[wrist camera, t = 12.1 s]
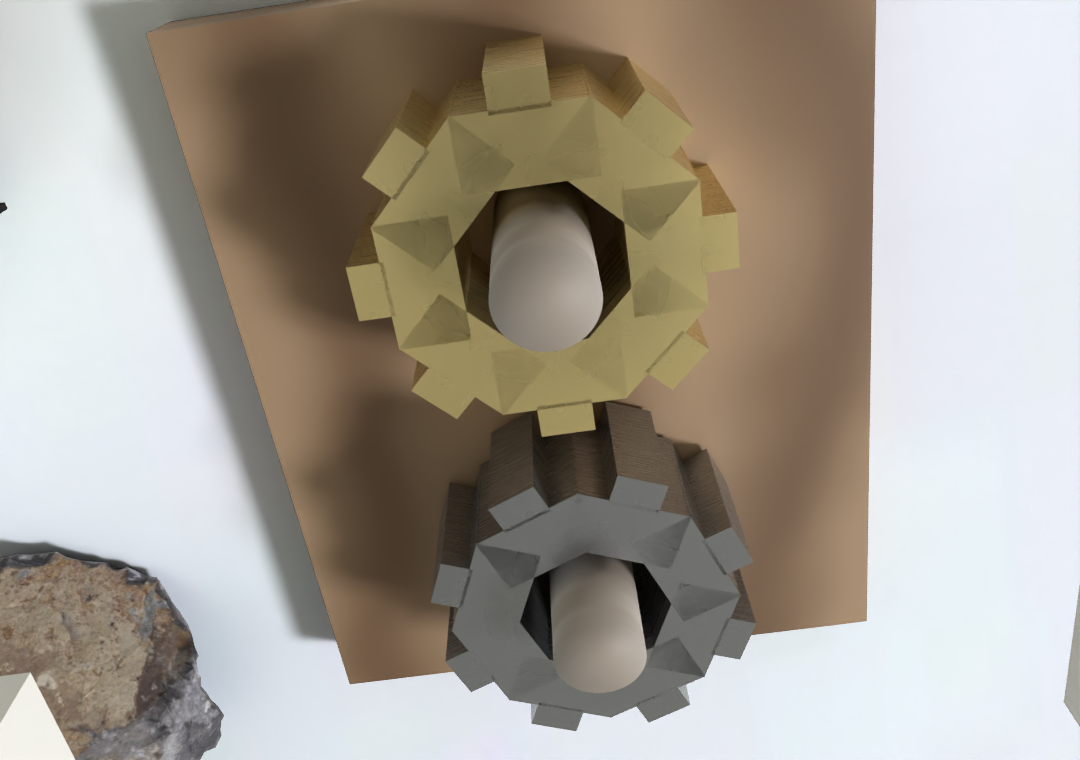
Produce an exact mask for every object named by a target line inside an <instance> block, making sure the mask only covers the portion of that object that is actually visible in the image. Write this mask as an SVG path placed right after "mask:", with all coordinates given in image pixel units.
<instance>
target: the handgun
mask: <svg viewBox="0 0 1080 760" xmlns="http://www.w3.org/2000/svg"><path fill="white" fill-rule="evenodd" d="M6 209H7V207H6V204H5V202H4V203H0V213H2V212H3V211H5V210H6Z"/></svg>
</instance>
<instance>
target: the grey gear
mask: <svg viewBox="0 0 1080 760" xmlns="http://www.w3.org/2000/svg"><path fill="white" fill-rule="evenodd" d="M595 429H596V430H589V431H582V432H574V433H567V434H559V435H552V436H544V437H542V436H541V429H540V423H539V422H538V420H537V419H536V417H535V416H534V414H533V413H532V412H529V413H527V414H525V415H523V416H522V417H520V418H518V419H516V420H514V421H512V422H510V423H508V424H506V425H504V426H503V427H501V428H499V429H497V430H495V431H493V432H491V454H490V460H488V461H486V462H484V463H483V464H481V465H480V470H479V473H478V477H477V481H476V485H475V487H470V486H465V485H460V484H455V483H450V482H449V486H448V490H447V494H446V498H445V502H444V506H443V510H442V513H441V517H440V525H439V534H438V543H437V551H436V560H435V569H434V578H433V587H432V595H431V603H435V604H441V605H446V606H450V614H449V626H448V637H447V649H446V660H445V662H446V663H447V664H448V665H449V667H450V668H451V669H452V670H453V671H454V672H455V674H456V675H457V676H458V677H459V678H460V679H461V681H462V682H463V683H464V684H465V685H466V686H467V688H468V689H469V690H470V691H471V692H472V691H474V690H477V689H479V688H481V687H483V686H485V685H487V684H490V683H492V682H495V683H496V684H497V685H498V686H499V688H500V689H501V690H502V691H503V692H504V694H505V695H506V696H507V697H508V698H509V700H513V701H519V702H525V703H531V720H532V724H537V725H543V726H549V727H555V728H561V729H567V730H573V731H576V730H577V727H578V725H579V722H580V719H581V717H582V714H583V713H589V714H595V715H601V716H606V717H613V716H615V715H617V714H620V713H622V712H624V711H626V710H629V709H631V708H633V707H636V706H637V707H638V709H639V710H640V711H641V713H642V714H643V715H644V717H645V718H646V719H647V721H648V722H651V721H653V720H656V719H658V718H660V717H663V716H665V715H667V714H670V713H672V712H674V711H677V710H679V709H681V708H683V707H686V706H688V705H690V702H689V697H688V692H687V687H686V684H688V683H690V682H693V681H695V680H697V679H700V678H702V677H704V676H705V674H706V672H707V669H708V667H709V665H710V663H711V660H712V658H713V656H714V655H719V656H724V657H730V658H735V659H740V658H741V656H742V654H743V652H744V649H745V647H746V645H747V643H748V641H749V639H750V636H751V634H752V632H753V630H754V628H755V626H756V620H755V617H754V614H753V611H752V608H751V604H750V601H749V598H748V595H747V592H746V588H745V585H744V582H743V579H742V576H741V572H740V569H739V568H742V567H744V566H746V565H748V564H750V563H752V562H753V560H752V557H751V554H750V551H749V548H748V545H747V542H746V539H745V536H744V533H743V530H742V527H741V524H740V521H739V518H738V515H737V512H736V509H735V506H734V503H733V500H732V497H731V494H730V491H729V488H728V485H727V482H726V480H725V478H724V477H723V475H722V474H721V472H720V470H719V469H718V467H717V465H716V464H715V462H714V460H713V459H712V457H711V455H710V454H709V452H708V450H707V449H705V450H703V451H700V452H698V453H696V454H694V455H692V456H690V457H688V458H686V459H684V460H683V459H682V458H681V456H680V454H679V453H678V451H677V450H676V448H675V446H674V445H673V443H672V442H671V439H666V438H662V437H657V436H656V432H655V428H654V424H653V419H652V415H651V411H648V410H643V409H638V408H634V407H629V406H624V405H620V404H615V403H611V402H605V405H604V408H603V411H602V414H601V417H600V420H599V423H598V424H596V423H595ZM584 553H591V554H596V555H602V556H607V557H612V558H617V559H622V560H627V561H632V562H635V563H632V567H633V573H634V579H635V585H636V591H637V597H638V603H639V609H640V615H641V622H642V628H643V634H644V640H645V646H646V652H647V659H646V664H645V667H644V669H643V671H642V672H641V674H640V675H639V676H638V677H637V679H635V680H634V681H633V682H632V683H630V684H629V685H627V686H625V687H623V688H621V689H618V690H615V691H612V692H606V693H590V692H584V691H581V690H578V689H575V688H573V687H571V686H569V685H568V684H566V683H565V682H564V681H563V680H562V679H561V678H560V677H559V675H558V674H557V672H556V670H555V667H554V662H553V642H552V621H551V599H550V578H549V573H547V571H549V570H551V569H553V568H555V567H557V566H559V565H561V564H563V563H566V562H568V561H570V560H572V559H574V558H576V557H578V556H580V555H582V554H584Z"/></svg>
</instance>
